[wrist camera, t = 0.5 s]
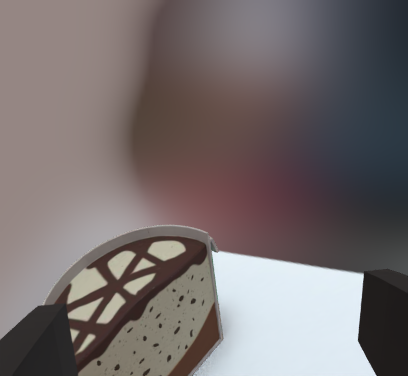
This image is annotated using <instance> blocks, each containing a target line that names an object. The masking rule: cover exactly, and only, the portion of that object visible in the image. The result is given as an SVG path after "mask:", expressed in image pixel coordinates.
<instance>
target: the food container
mask: <svg viewBox="0 0 408 376" xmlns="http://www.w3.org/2000/svg"><path fill="white" fill-rule="evenodd" d="M211 250H212V251H214V252H217V253H218V252H219V250H218V248H217V246H216V244H215V242H214V240H213V238H211V237H209V234H208V233H207V232H205V231H202V230H199V229H196V228H191V227H187V226H179V225H158V226H150V227H145V228H140V229H136V230H132V231H129V232H126V233H123V234H120V235H118V236H116V237H113V238H111V239H109V240H107V241H105V242H103V243H101V244H100V245H98V246H96V247H94V248H93V249H92V250H90V251H89V252H87V253H86V254H84V255H83V256H82V257H81V258H79V259H78V260H77V261H76V262H75V263H73V264H72V265H71V266H70V267H69V268H68V269H67V270H66V271H65V272H64V273H63V274H62V275H61V277H60V278H59V279H58V281H57V282H56V283H55V284H54V285H53V287H52V289H51V290H50V292H49V294H48V295H47V297H46V298H45V300H44V303H43V305H51V304H61V303H66V307H67V313H68V319H69V325H70V330H71V336H72V342H73V348H74V353H75V359H76V365H77V371H78V376H192V375H193V374H194V373H195V372H196V371H197V369H198V368H199V367H200V366H201V365H202V364H203V362H204V361H205V360H206V359H207V358H208V357H209V355H210V354H211V353H212V352H213V351H214V350H215V348H216V347H217V346H218V345H219V344H220V342H221V341H222V340H223V334H222V326H221V319H220V311H219V304H218V296H217V289H216V281H215V274H214V266H213V259H212V251H211Z"/></svg>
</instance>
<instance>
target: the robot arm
mask: <svg viewBox="0 0 408 376" xmlns="http://www.w3.org/2000/svg"><path fill="white" fill-rule="evenodd" d="M358 342H359V344H360V346H361V348H362V350H363V351H364V353H365V355H366V357H367V359H368V361H369V363H370V365H371V367H372V368H373V370H374V372H375V374H376V375H377V376H408V276H406V275H404V274H401V273H398V272H395V271H392V270H389V269H383V270H374V271H364V279H363V290H362V301H361V312H360V323H359V334H358ZM0 376H78V371H77V365H76V359H75V353H74V348H73V342H72V336H71V330H70V325H69V319H68V313H67V307H66V303H61V304H51V305H42V306H38V307H36V308H35V309H34V310H33V311H32V312H30V313H29V314H28V315H27V316H26V317H25V318H24V319H22V320H21V321H20V322H19V323H18V324H17V325H16V326H15V327H14V328H13V329H12V330H10V331H9V332H8V333H7V334H6V335H5V336H4V337H3V338H2V339H1V340H0Z"/></svg>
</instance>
